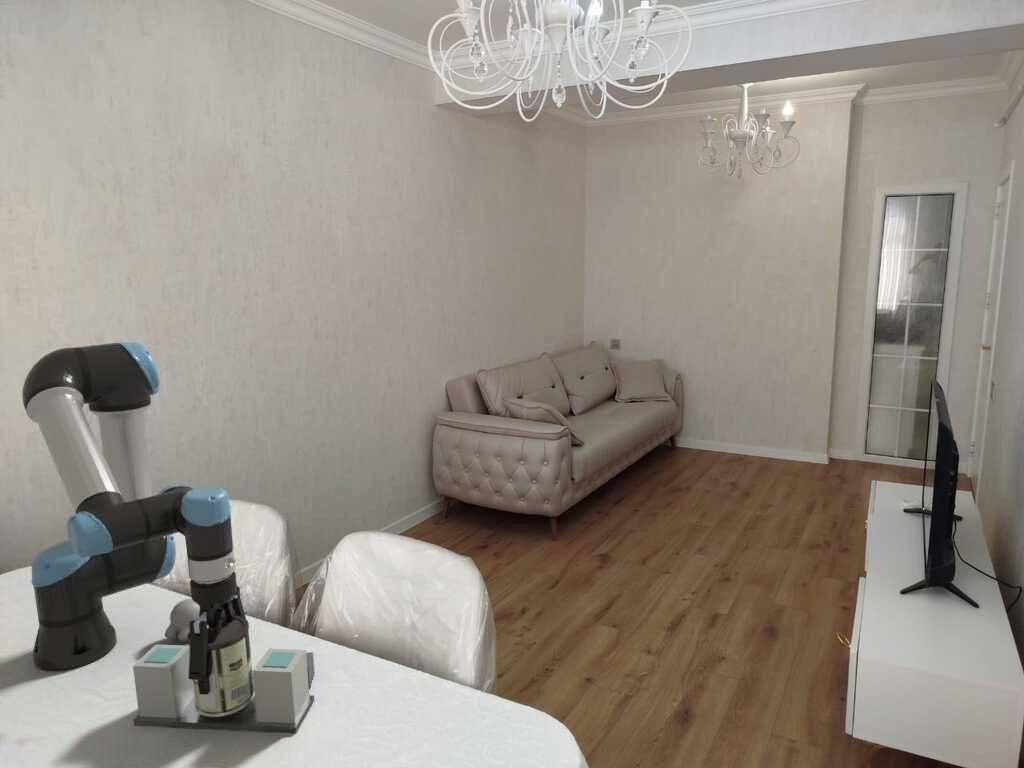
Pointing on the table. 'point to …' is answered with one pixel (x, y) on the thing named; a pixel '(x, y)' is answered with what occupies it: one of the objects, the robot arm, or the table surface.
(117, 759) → the table surface
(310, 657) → the charcoal block
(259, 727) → the rail plate
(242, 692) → the coffee can
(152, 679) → the mounted module
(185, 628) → the chubby cartoon animal
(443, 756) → the table surface
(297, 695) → the block
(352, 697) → the table surface
